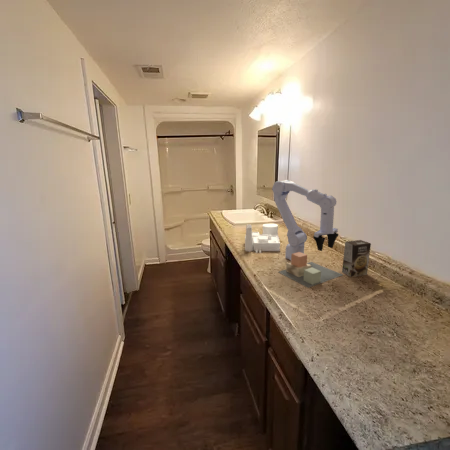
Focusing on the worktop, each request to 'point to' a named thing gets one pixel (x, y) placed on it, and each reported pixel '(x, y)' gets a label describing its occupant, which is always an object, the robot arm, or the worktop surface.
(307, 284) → the slate mat
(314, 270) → the sage cube
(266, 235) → the power plant
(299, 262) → the terracotta cube
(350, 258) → the coffee box
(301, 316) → the worktop surface
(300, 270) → the birch slab
